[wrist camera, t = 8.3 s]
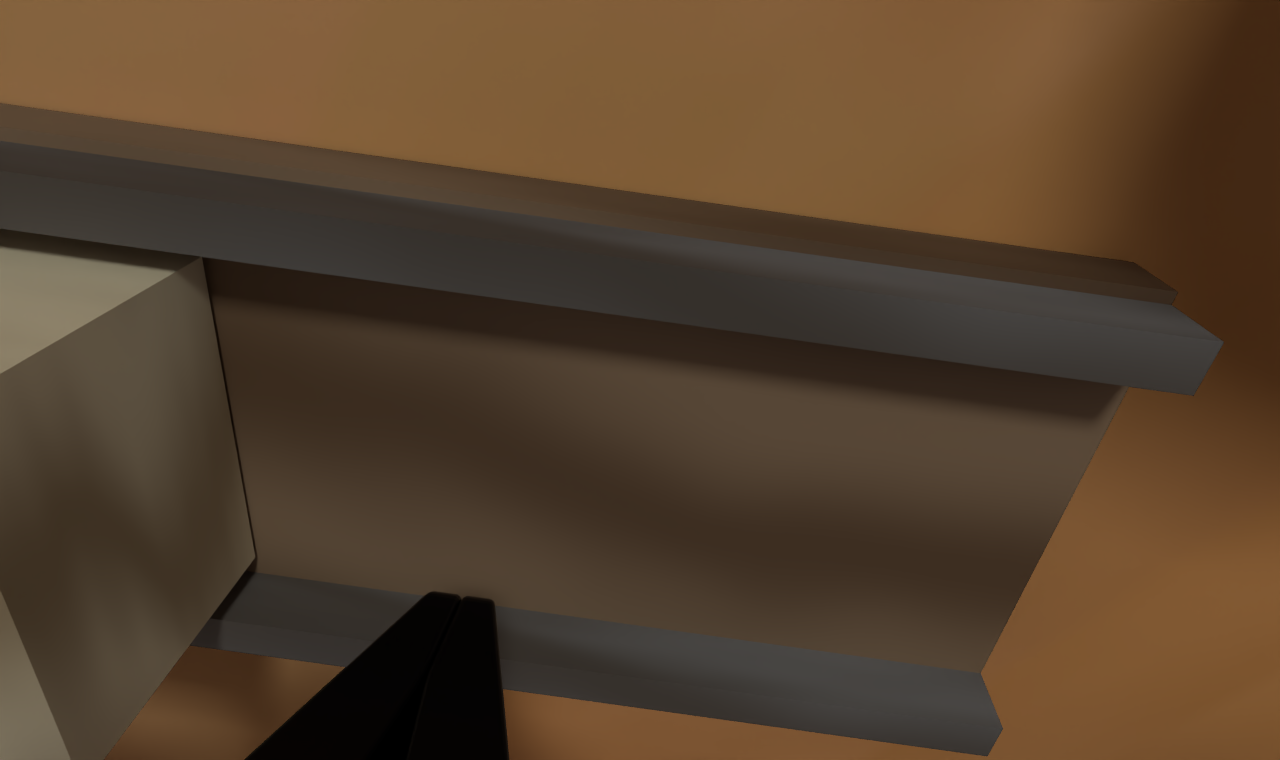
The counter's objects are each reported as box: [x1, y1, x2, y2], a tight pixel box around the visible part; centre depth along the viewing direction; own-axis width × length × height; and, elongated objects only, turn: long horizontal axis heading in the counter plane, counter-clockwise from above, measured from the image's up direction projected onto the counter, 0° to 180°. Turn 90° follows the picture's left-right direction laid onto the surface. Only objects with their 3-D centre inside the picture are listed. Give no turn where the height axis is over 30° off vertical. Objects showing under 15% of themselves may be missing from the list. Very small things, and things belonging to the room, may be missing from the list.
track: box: [0, 103, 1224, 756], centre depth 11 cm, size 9×24×6 cm, turn 83°
